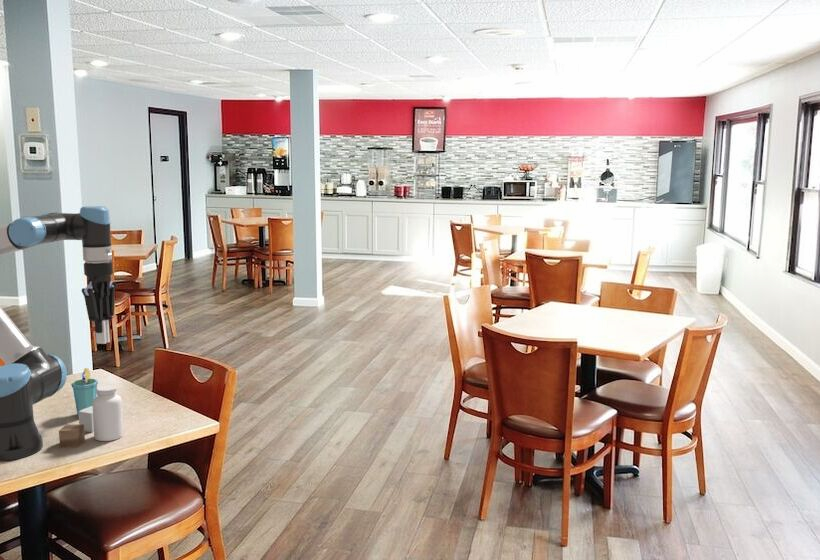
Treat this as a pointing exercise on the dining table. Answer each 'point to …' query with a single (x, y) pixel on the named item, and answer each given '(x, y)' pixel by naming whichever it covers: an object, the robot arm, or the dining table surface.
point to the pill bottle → (107, 414)
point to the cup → (84, 391)
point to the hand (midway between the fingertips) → (103, 342)
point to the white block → (87, 419)
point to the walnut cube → (71, 435)
